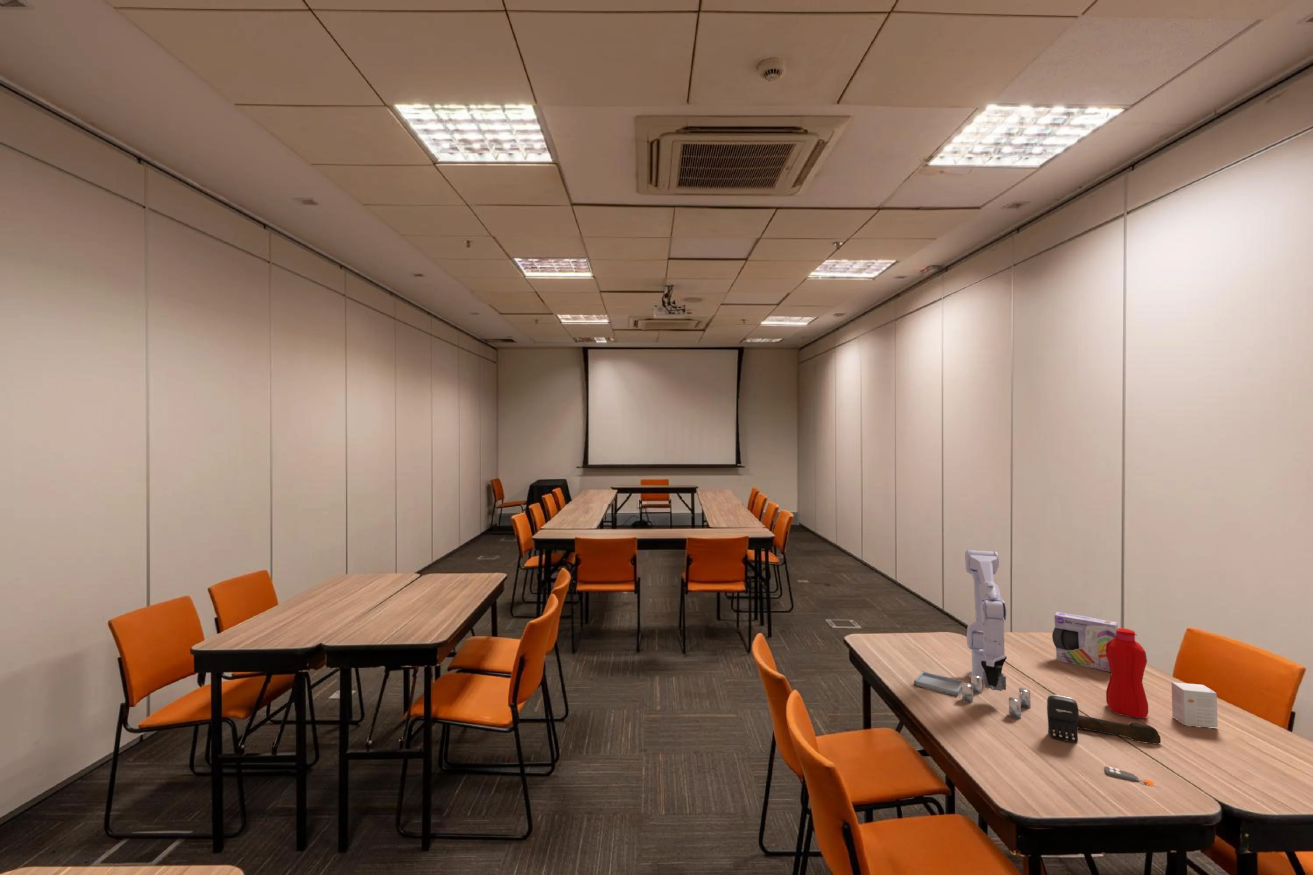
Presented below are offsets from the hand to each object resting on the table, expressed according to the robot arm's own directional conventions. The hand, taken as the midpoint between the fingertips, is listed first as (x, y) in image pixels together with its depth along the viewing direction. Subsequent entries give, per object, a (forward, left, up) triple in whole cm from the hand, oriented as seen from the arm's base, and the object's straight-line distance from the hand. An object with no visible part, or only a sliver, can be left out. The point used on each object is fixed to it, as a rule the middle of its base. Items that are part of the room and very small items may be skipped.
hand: (994, 681), depth 171 cm
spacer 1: (+3, -7, -7) cm, 10 cm away
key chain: (+23, +33, -8) cm, 41 cm away
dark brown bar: (0, +29, -7) cm, 30 cm away
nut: (0, 0, -2) cm, 2 cm away
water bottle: (-19, +31, -7) cm, 37 cm away
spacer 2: (-6, -6, -7) cm, 11 cm away
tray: (-3, -16, -7) cm, 18 cm away
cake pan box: (-55, +21, -7) cm, 59 cm away
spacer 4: (-4, +8, -7) cm, 11 cm away
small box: (-23, +47, -7) cm, 52 cm away
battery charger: (+12, +18, -7) cm, 23 cm away
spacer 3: (+6, +6, -7) cm, 11 cm away
